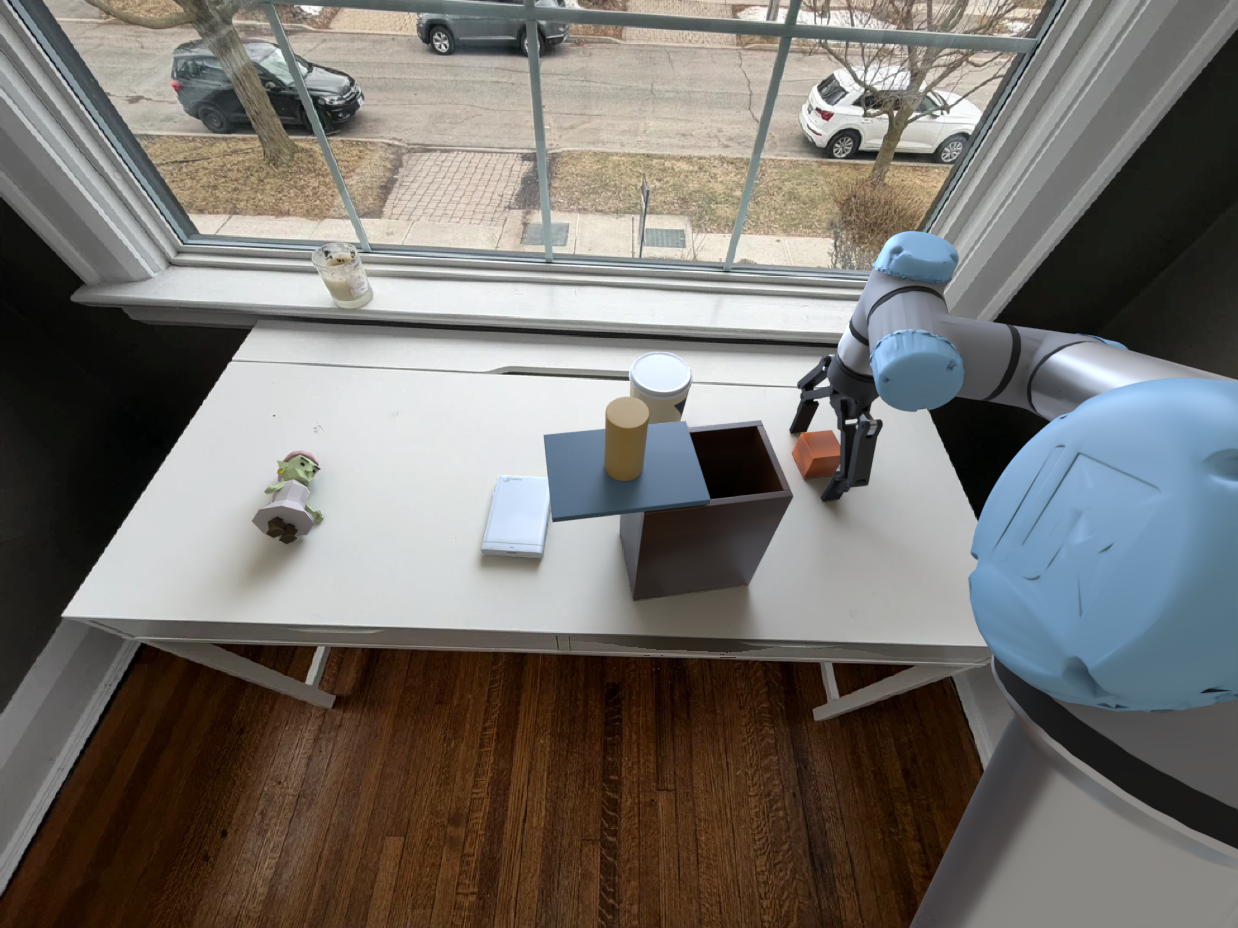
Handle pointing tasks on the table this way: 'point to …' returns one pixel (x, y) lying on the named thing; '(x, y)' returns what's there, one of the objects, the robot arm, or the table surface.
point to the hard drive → (518, 517)
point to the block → (817, 454)
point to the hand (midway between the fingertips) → (813, 463)
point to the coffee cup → (661, 385)
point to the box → (711, 518)
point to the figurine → (290, 500)
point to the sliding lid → (623, 466)
